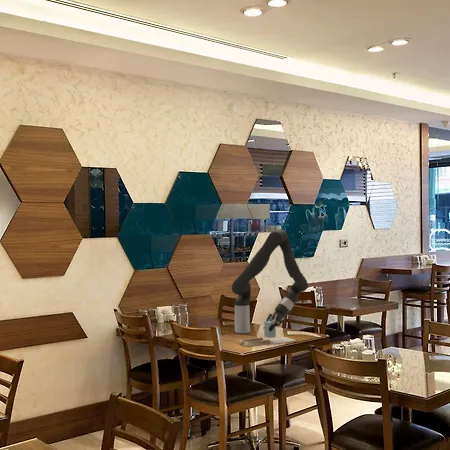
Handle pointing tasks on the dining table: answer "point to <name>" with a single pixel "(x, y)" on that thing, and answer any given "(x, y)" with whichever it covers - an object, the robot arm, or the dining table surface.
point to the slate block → (267, 332)
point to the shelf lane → (253, 342)
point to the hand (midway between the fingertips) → (267, 329)
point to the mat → (280, 340)
